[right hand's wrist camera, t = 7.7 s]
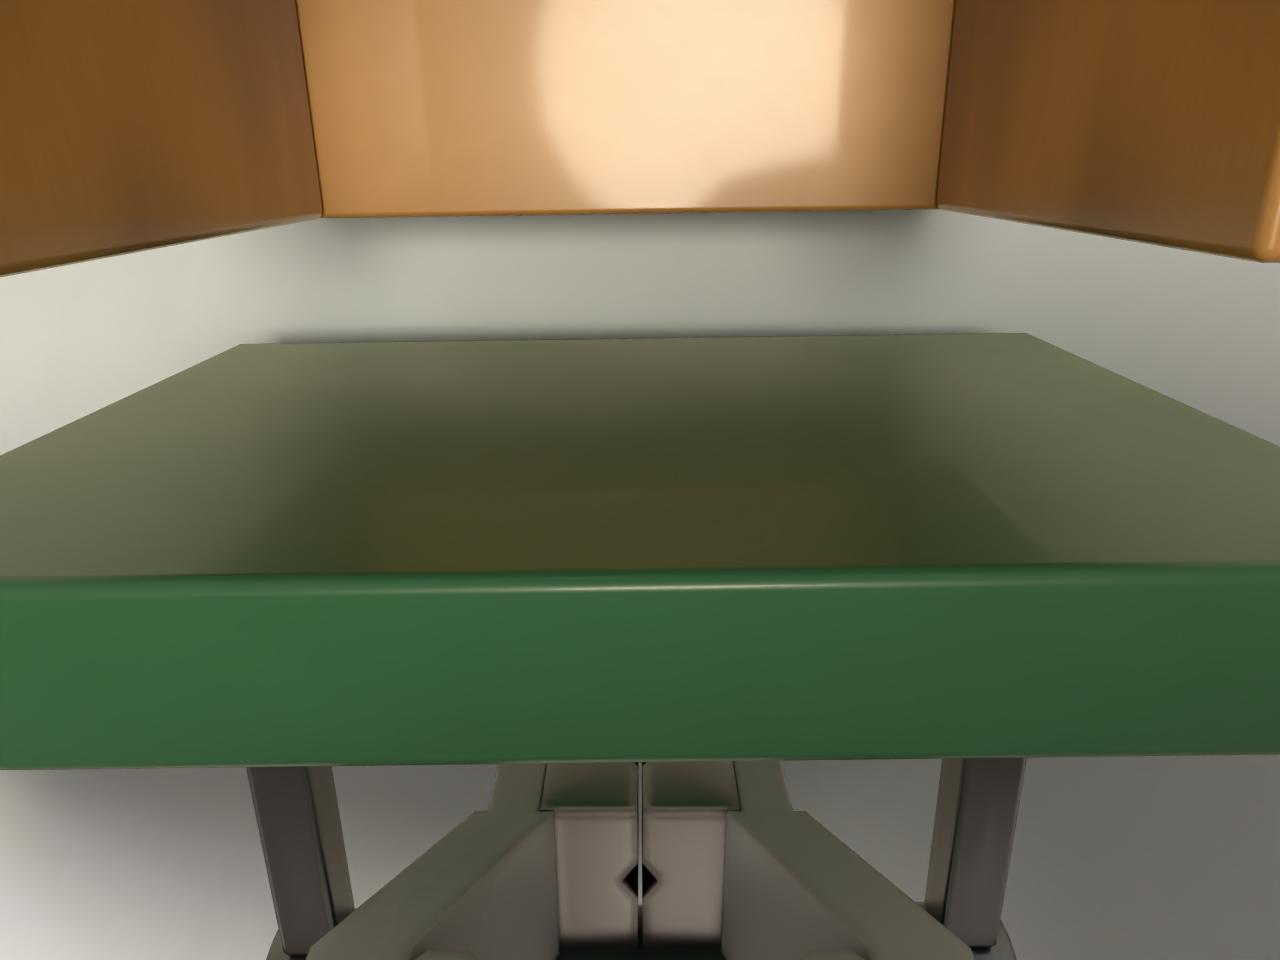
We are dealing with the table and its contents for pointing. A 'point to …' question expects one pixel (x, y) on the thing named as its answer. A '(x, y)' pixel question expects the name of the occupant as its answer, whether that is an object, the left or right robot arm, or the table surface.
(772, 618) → the drawer
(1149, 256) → the table surface
